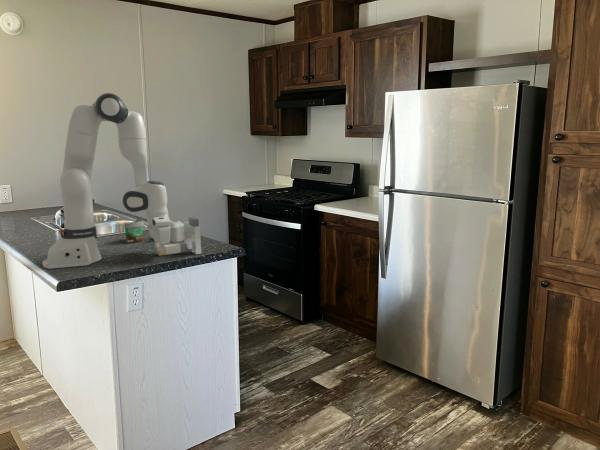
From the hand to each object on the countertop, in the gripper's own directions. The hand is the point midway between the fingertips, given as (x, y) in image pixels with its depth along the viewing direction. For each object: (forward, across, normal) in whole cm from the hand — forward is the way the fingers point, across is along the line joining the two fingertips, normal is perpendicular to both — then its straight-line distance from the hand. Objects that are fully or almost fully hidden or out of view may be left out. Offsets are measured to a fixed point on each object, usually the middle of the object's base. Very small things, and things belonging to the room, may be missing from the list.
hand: (159, 250), depth 221 cm
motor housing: (+2, 0, +15) cm, 15 cm away
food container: (+2, -32, -2) cm, 32 cm away
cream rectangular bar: (+2, 0, +6) cm, 6 cm away
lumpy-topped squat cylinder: (+2, -28, +14) cm, 31 cm away
